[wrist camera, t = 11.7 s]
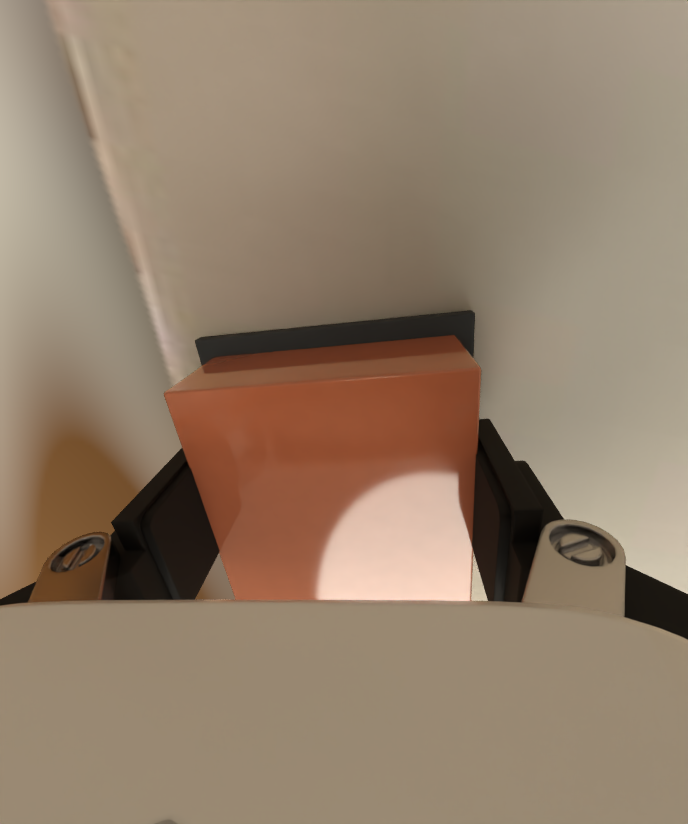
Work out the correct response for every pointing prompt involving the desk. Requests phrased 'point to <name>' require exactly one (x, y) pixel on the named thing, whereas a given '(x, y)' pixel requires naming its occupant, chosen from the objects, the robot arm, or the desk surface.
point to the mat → (341, 335)
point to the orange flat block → (338, 468)
